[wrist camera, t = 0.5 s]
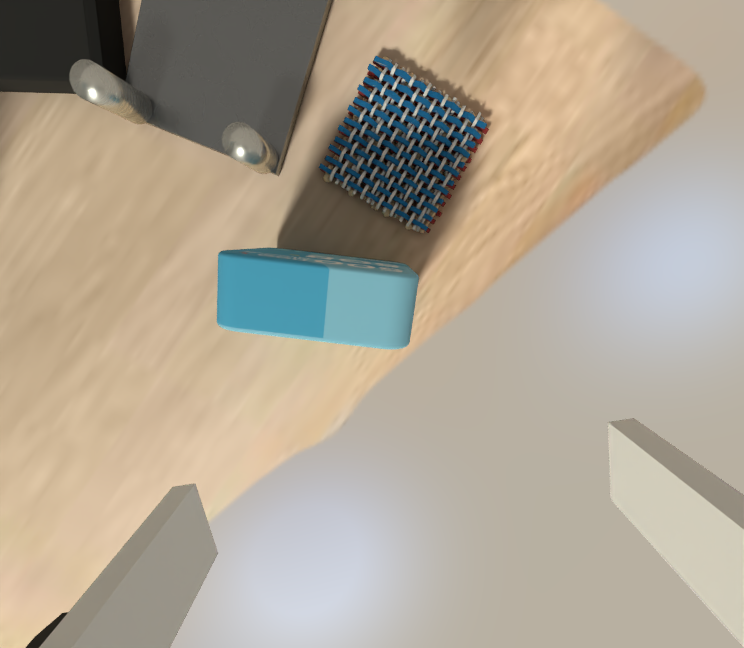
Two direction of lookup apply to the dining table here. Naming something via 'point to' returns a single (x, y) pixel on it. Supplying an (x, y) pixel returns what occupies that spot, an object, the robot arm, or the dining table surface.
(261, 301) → the data package
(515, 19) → the dining table surface
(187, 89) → the chassis
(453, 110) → the woven mat
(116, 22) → the external hard drive
